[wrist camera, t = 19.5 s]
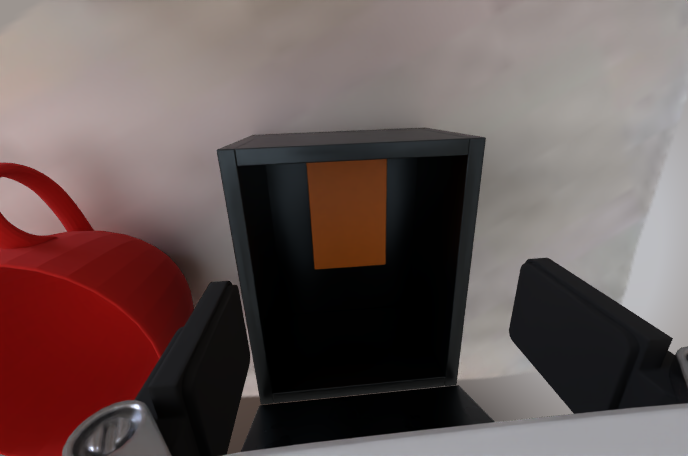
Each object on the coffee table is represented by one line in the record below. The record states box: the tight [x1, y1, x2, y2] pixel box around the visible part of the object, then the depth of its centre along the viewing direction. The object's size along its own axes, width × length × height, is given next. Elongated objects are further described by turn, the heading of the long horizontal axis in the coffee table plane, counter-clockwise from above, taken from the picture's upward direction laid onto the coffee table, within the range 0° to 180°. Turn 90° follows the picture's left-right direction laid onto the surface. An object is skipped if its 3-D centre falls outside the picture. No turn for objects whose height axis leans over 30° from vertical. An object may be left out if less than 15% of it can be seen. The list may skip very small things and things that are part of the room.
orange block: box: [306, 159, 387, 269], centre depth 22 cm, size 8×5×4 cm, turn 2°
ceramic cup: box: [0, 163, 194, 456], centre depth 20 cm, size 13×17×10 cm
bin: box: [217, 128, 486, 404], centre depth 22 cm, size 16×13×9 cm
